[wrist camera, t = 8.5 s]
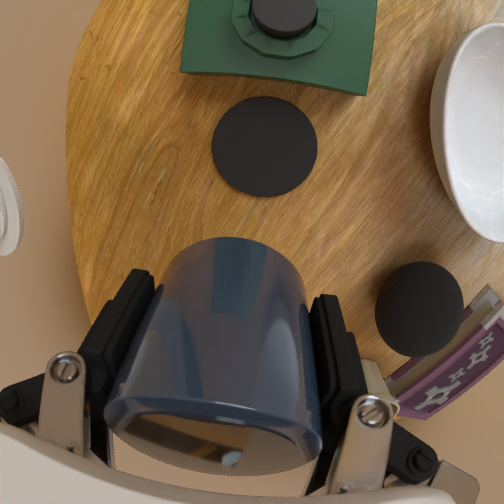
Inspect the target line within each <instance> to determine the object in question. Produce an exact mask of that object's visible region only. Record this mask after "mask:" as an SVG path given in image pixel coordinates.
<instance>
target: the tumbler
mask: <svg viewBox="0 0 504 504" xmlns="http://www.w3.org/2000/svg"><path fill="white" fill-rule="evenodd" d="M103 417H104V421H105V422H106V424H107V426H108V427H109V428H110V429H111V431H112V432H113V433H114V434H115V435H116V436H118V437H119V438H120V439H121V440H123V441H124V442H125V443H127V444H128V445H130V446H131V447H133V448H135V449H136V450H138V451H140V452H142V453H144V454H146V455H148V456H150V457H152V458H155V459H157V460H159V461H162V462H165V463H168V464H171V465H174V466H177V467H180V468H184V469H188V470H193V471H198V472H203V473H209V474H217V475H227V476H257V475H267V474H274V473H280V472H284V471H288V470H292V469H295V468H298V467H300V466H303V465H305V464H307V463H309V462H310V461H312V460H314V459H315V458H316V457H317V456H318V455H319V454H320V453H321V451H322V449H323V446H324V441H323V429H322V418H321V408H320V398H319V389H318V380H317V371H316V363H315V354H314V347H313V339H312V332H311V324H310V317H309V310H308V303H307V297H306V290H305V286H304V283H303V280H302V278H301V276H300V274H299V272H298V271H297V270H296V268H295V267H294V266H293V264H292V263H291V262H290V261H289V260H288V259H287V258H285V257H284V256H283V255H282V254H280V253H279V252H277V251H276V250H274V249H272V248H271V247H269V246H266V245H264V244H262V243H259V242H256V241H253V240H249V239H244V238H237V237H217V238H211V239H206V240H203V241H200V242H197V243H195V244H192V245H190V246H188V247H187V248H185V249H184V250H182V251H181V252H180V253H178V254H177V255H176V256H175V257H174V258H173V259H172V261H171V262H170V263H169V265H168V267H167V268H166V270H165V272H164V274H163V276H162V278H161V280H160V282H159V284H158V286H157V288H156V290H155V292H154V294H153V296H152V298H151V300H150V302H149V305H148V307H147V309H146V311H145V313H144V315H143V317H142V319H141V321H140V324H139V326H138V328H137V330H136V332H135V334H134V337H133V339H132V341H131V343H130V345H129V348H128V350H127V352H126V355H125V357H124V359H123V361H122V364H121V366H120V368H119V371H118V373H117V376H116V378H115V380H114V383H113V385H112V388H111V390H110V393H109V395H108V398H107V400H106V403H105V405H104V408H103Z"/></svg>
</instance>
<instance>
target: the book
mask: <svg viewBox="0 0 504 504" xmlns="http://www.w3.org/2000/svg"><path fill="white" fill-rule="evenodd" d="M503 359H504V305H503V303H502V302H501V301H500V300H499V297H498V296H497V295H496V294H495V292H494V291H493V290H492V289H491V288H490V286H489V285H488V284H487V285H486V286H485V287H484V289H483V290H482V291H481V292H480V293H479V294H478V295H477V296H476V298H475V299H474V300H473V301H472V302H471V303H470V304H469V306H468V307H467V308H466V309H465V310H464V311H463V318H462V321H461V325H460V327H459V329H458V331H457V333H456V335H455V336H454V338H453V339H452V340H451V341H450V343H449V344H448V345H446V346H445V347H444V348H443V349H441V350H440V351H438V352H436V353H434V354H432V355H429V356H425V357H413V358H412V359H411V360H410V361H408V362H407V363H406V364H405V365H403V366H402V367H401V368H400V369H398V370H397V371H396V372H394V373H393V374H392V375H390V376H388V377H387V378H386V379H384V382H385V384H386V386H387V389H388V391H389V393H390V395H391V396H392V397H393V398H394V400H395V402H397V403H398V404H399V406H400V410H399V412H398V414H397V416H402V417H408V418H415V419H422V420H426V419H428V418H429V417H431V416H432V415H434V414H435V413H437V412H438V411H440V410H441V409H443V408H444V407H445V406H447V405H448V404H450V403H451V402H453V401H454V400H455V399H457V398H458V397H459V396H461V395H462V394H463V393H465V392H466V391H467V390H469V389H470V388H471V387H472V386H474V385H475V384H476V383H477V382H479V381H480V380H481V379H482V378H483V377H484V376H485V375H487V374H488V373H489V372H490V371H491V370H492V369H494V367H496V366H497V365H498V364H499V363H500V362H501V361H502V360H503Z"/></svg>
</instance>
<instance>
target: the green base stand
mask: <svg viewBox="0 0 504 504" xmlns="http://www.w3.org/2000/svg"><path fill="white" fill-rule="evenodd" d="M315 1H316V4H317V13H316V16H315V18H314V20H313V22H312V23H311V25H310V26H309V28H308V29H307V30H306V31H305V32H303V33H302V34H300V35H297V36H294V37H289V38H281V37H275V36H272V35H270V34H268V33H266V32H264V31H263V30H262V29H261V28H260V27H259V26H258V25H257V23H256V22H255V19H254V16H253V11H252V0H190V1H189V7H188V14H187V20H186V27H185V34H184V42H183V50H182V59H181V68H180V72H182V73H186V74H191V75H219V76H235V77H247V78H257V79H266V80H274V81H282V82H288V83H295V84H301V85H307V86H312V87H317V88H322V89H327V90H332V91H336V92H341V93H345V94H349V95H353V96H366V94H367V88H368V81H369V74H370V67H371V59H372V51H373V42H374V33H375V22H376V10H377V0H315Z"/></svg>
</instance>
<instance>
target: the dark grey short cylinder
mask: <svg viewBox="0 0 504 504" xmlns="http://www.w3.org/2000/svg"><path fill="white" fill-rule="evenodd" d="M252 11H253V16H254V19H255V22H256V23H257V25H258V26H259V27H260V28H261V29H262V30H263V31H264V32H266V33H268V34H270V35H272V36H275V37H281V38H289V37H294V36H297V35H300V34H302V33H303V32H305V31H306V30H307V29H308V28H309V26H310V25H311V23H312V22H313V20H314V18H315V16H316V13H317V4H316V1H315V0H252Z"/></svg>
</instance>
